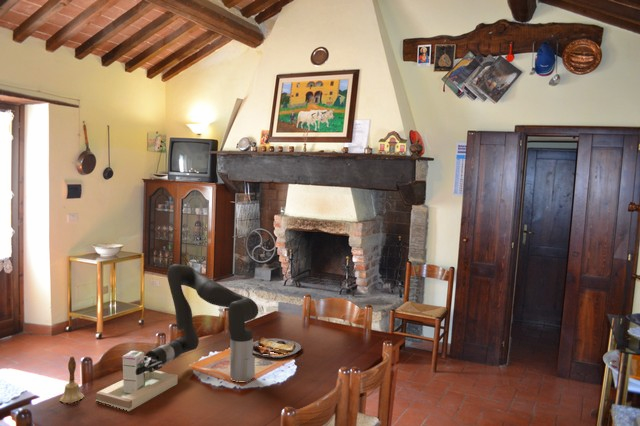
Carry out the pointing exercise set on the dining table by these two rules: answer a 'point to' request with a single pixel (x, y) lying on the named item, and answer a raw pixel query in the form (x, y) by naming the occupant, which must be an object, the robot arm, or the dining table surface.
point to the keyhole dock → (128, 401)
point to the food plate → (275, 343)
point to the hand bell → (71, 385)
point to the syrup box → (133, 371)
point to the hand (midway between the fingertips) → (129, 370)
